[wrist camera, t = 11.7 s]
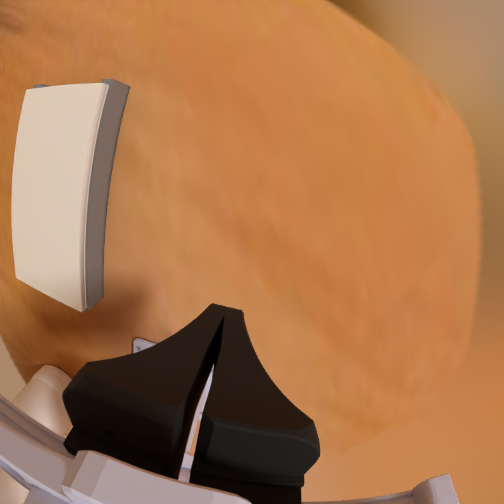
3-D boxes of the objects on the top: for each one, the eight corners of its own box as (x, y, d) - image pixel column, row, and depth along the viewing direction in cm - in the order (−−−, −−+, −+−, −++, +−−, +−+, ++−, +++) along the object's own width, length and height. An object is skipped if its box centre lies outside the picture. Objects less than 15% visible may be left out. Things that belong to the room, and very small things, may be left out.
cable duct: (103, 297, 23) (88, 310, 20) (37, 269, 22) (22, 279, 20) (130, 86, 17) (113, 79, 14) (52, 88, 16) (34, 84, 14)
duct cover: (87, 308, 20) (82, 312, 19) (21, 274, 20) (16, 277, 19) (110, 85, 14) (103, 82, 13) (32, 90, 14) (26, 89, 13)
